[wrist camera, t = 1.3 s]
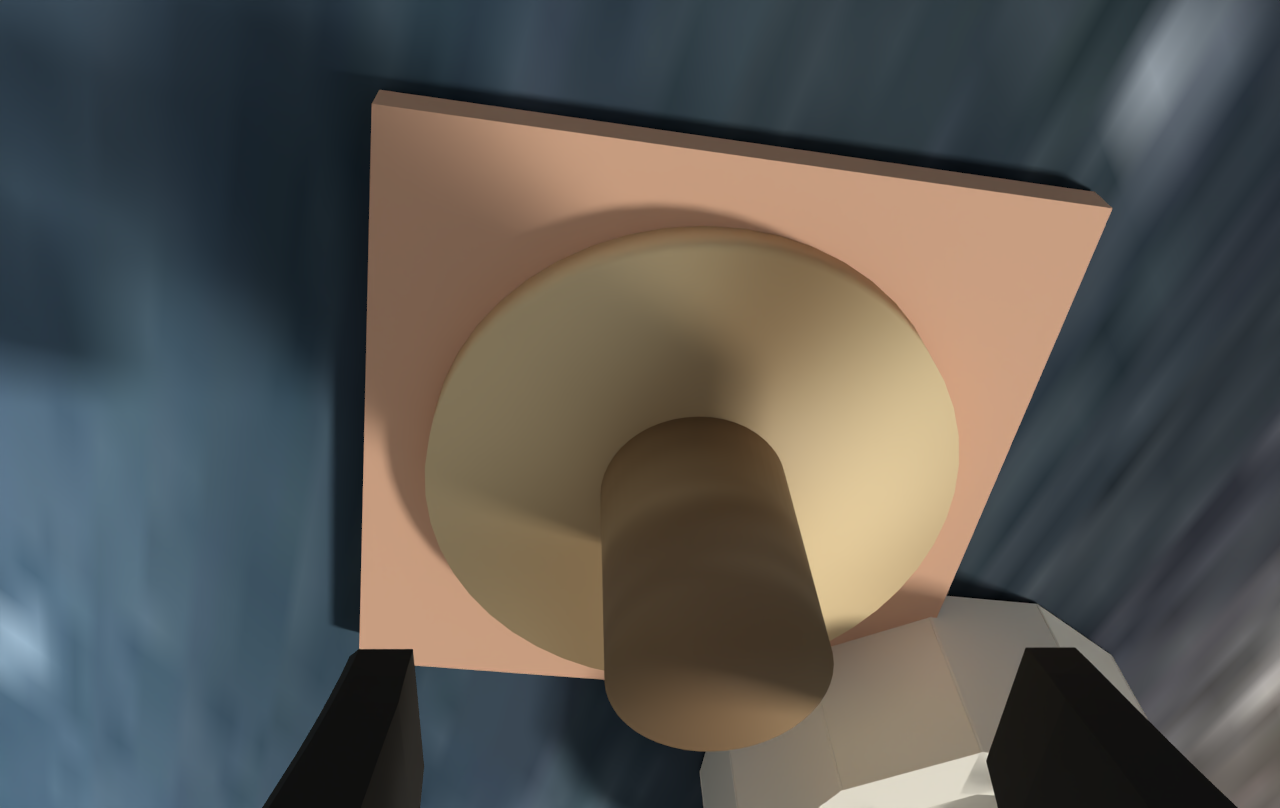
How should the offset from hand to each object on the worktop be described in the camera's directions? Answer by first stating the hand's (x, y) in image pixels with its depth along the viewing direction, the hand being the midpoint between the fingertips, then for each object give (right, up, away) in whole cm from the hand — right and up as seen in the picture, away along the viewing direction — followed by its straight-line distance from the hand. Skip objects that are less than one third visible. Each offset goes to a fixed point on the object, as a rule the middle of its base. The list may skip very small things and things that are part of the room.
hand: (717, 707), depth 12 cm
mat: (0, +3, +5) cm, 5 cm away
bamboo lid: (0, +3, +4) cm, 5 cm away
